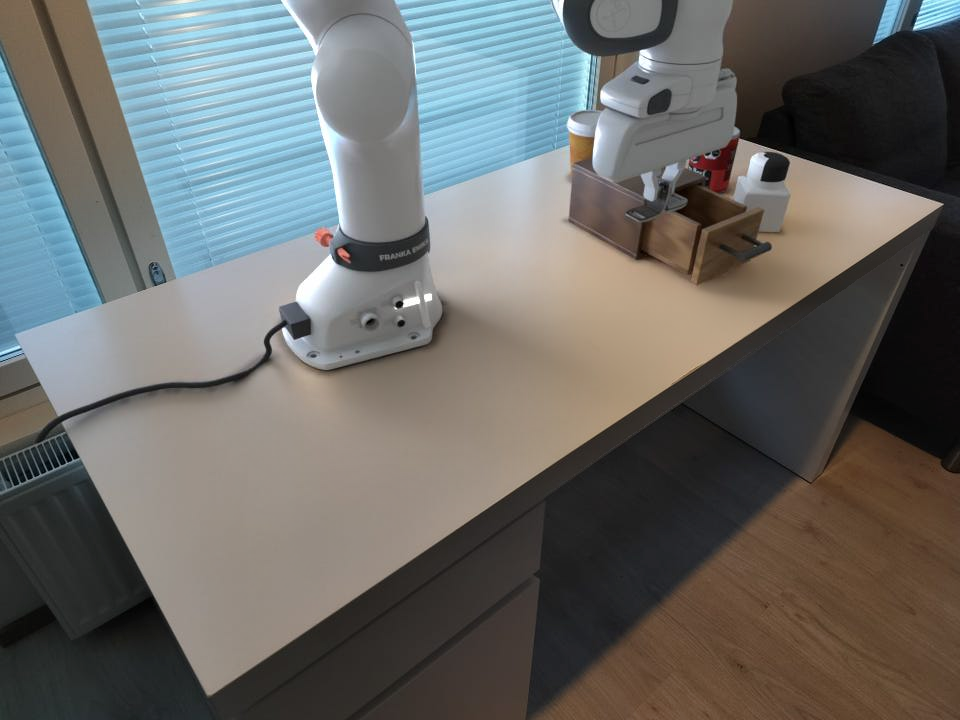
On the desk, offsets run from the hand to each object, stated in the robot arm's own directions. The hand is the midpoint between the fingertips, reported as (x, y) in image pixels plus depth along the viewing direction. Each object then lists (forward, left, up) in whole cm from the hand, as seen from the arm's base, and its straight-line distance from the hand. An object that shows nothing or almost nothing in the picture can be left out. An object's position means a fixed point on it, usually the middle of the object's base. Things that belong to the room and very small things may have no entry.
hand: (658, 196), depth 85 cm
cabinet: (+18, +20, -18) cm, 33 cm away
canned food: (+42, +24, -19) cm, 52 cm away
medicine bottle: (+37, +9, -19) cm, 43 cm away
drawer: (+18, +6, -17) cm, 26 cm away
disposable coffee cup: (+26, +40, -19) cm, 52 cm away
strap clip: (0, 0, -2) cm, 2 cm away
